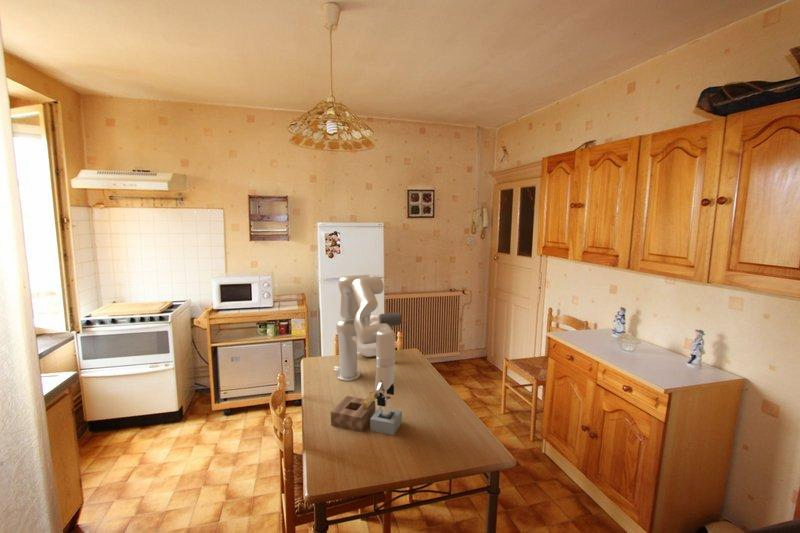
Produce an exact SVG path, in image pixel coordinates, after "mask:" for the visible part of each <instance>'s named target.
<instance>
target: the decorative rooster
mask: <svg viewBox="0 0 800 533" xmlns="http://www.w3.org/2000/svg"><path fill="white" fill-rule="evenodd" d="M375 324H380V323H379V315H374V314H373V315H372V314H371V316H370V325H375ZM352 339H353V340H354V341H355V342H356V344H357V353H358V354H360V355H362V356H364V357H366V358H370V357H376V343H372V344H362V343H361V342H360V341H359V339H358V336H353V337H352Z"/></svg>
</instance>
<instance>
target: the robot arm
mask: <svg viewBox="0 0 800 533" xmlns="http://www.w3.org/2000/svg"><path fill="white" fill-rule="evenodd" d="M384 287H385V286H384V282H383V280H382V278H381V277H380V276H378V275H374V274H359V275H358V274H357V275H345V276H340V278H339V279H338V290H339V292H340V295H341V296H340V309H339V310H340V312H339V314H340V317H341V318H342V319H340V320H339V321H337V323H336V328H335V329H336V332H337V334H336V335H337V338H338V339H337V340H338V341H337V342H338V358H339V359H338V361H339V364H338V365H339V366H338V365H334V366H333V372H337V374H336V378H337V379H338V380H340V381H343V382H345V381H346V382H347V381H348V382H349V381H355V380H357V379H359V378H360V377H361V371H359V370H358V351H357V344H356V342H355V341H354V340H353V339H352V337H353V336H358V339H359V341H360V342H361V343H362V344H372V343H376V355H375V360H376V361H375V362H376V368H375V384H374V388H375V392H376V393H377V394H376V395H377V399H376V400H377V402H376V403H377V406H378V407H381V406H383V407H384V406H385V397H384V396H386V394H387V395H392V396H393V395H394V394H395V374H396V373H395V364H396V334H395V331H394V330H393V329H392V330H391V327H390V326H389V325H388V324H385V323H383V324H375V325H370V316H372V313H373V312H375V311H376V310H377V309H378V307H379V306H378V305H379V303H378V300H377V297H376V295H380V294H382V293H383V292H384V289H385V288H384ZM381 391H382V392H381Z"/></svg>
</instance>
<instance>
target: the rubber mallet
mask: <svg viewBox="0 0 800 533" xmlns="http://www.w3.org/2000/svg"><path fill="white" fill-rule="evenodd" d="M378 316H379V323H380V324H383V323H385V324H388V325H389V326H390V327H391V330H393V327H395V326H400V325H401V324H402V315H401V313H400V312H387V313H380V314H379V315H378Z"/></svg>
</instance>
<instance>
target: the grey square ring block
mask: <svg viewBox="0 0 800 533" xmlns="http://www.w3.org/2000/svg"><path fill="white" fill-rule="evenodd" d="M375 411H376V412H375V414H374V415H373V416H372V417H371V419H370V422H369V426H370V429H369V430H370V431H371V432H376V433H381V434H384V435H390V436H395V434H396V432H398V431H397V430H398V429H399V427H400V426H401V424H402V423H403V410H400V409H395V408H391V419H390V420H389V419H384V418H381V406H378V408H377V410H375Z"/></svg>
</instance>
